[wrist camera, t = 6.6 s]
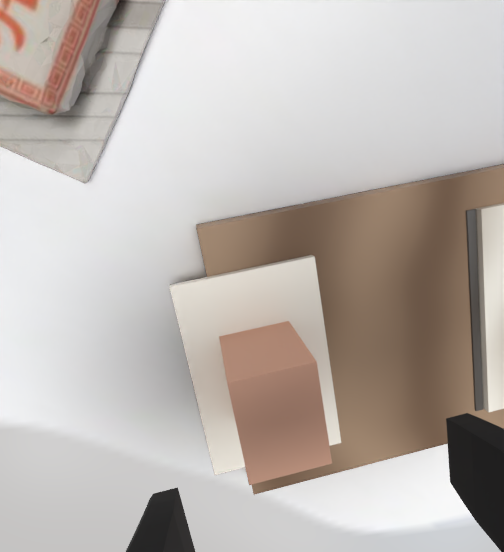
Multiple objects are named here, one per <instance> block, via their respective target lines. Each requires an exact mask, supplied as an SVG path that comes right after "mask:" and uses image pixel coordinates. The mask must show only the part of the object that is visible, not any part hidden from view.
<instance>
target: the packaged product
mask: <svg viewBox="0 0 504 552" xmlns="http://www.w3.org/2000/svg"><path fill="white" fill-rule="evenodd" d="M164 2H165V0H0V146H1V147H3V148H6V149H8V150H10V151H12V152H14V153H17V154H19V155H21V156H23V157H26V158H28V159H30V160H32V161H34V162H37V163H39V164H42V165H44V166H46V167H49V168H51V169H53V170H56V171H58V172H60V173H63V174H65V175H67V176H70V177H72V178H74V179H77V180H79V181H81V182H83V183H87V182H88V181H89V179H90V176H91V174H92V172H93V170H94V168H95V166H96V163H97V161H98V159H99V157H100V155H101V153H102V151H103V149H104V146H105V144H106V142H107V140H108V138H109V135H110V133H111V131H112V129H113V126H114V124H115V122H116V120H117V118H118V115H119V113H120V111H121V109H122V106H123V104H124V102H125V100H126V97H127V95H128V93H129V90H130V87H131V84H132V81H133V79H134V76H135V73H136V70H137V67H138V64H139V61H140V58H141V56H142V54H143V51H144V49H145V47H146V44H147V42H148V40H149V37H150V35H151V33H152V30H153V28H154V25H155V23H156V21H157V18H158V16H159V14H160V11H161V9H162V7H163V4H164Z"/></svg>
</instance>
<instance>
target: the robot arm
mask: <svg viewBox="0 0 504 552" xmlns="http://www.w3.org/2000/svg"><path fill="white" fill-rule="evenodd" d="M446 424H447V439H448V454H449V469H450V482H451V484H452V485H453V487H454V489H455V490H456V492H457V493H458V495H459V496H460V498H461V499H462V501H463V503H464V504H465V505H466V507H467V508H468V510H469V511H470V513H471V514H472V516H473V517H474V519H475V520H476V521H477V523H478V524H479V525H480V526H481V527H482V529H483V530H484V531H485V532H486V534H487V535H488V536H489V537H490V538H491V540H492V541H493V542H494V543H495V544H496V546H497V547H498V548H499V549H500V550H501V552H504V429H503V428H501V427H499V426H497V425H494V424H492V423H490V422H488V421H486V420H483V419H481V418H479V417H476V416H474V415H471V414H469V413H465V414H462V415H458V416H454V417H450V418H446ZM126 552H195V549H194V546H193V542H192V539H191V535H190V531H189V527H188V524H187V520H186V517H185V513H184V509H183V506H182V502H181V498H180V495H179V491H178V488H175V489H170V490H167V491H163V492H159V493H155V494H153V495H152V497H151V498H150V500H149V502H148V505H147V507H146V509H145V511H144V514H143V516H142V518H141V520H140V523H139V525H138V527H137V529H136V531H135V534H134V536H133V538H132V540H131V542H130V544H129V546H128V548H127V550H126Z"/></svg>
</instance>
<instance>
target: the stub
mask: <svg viewBox="0 0 504 552" xmlns="http://www.w3.org/2000/svg"><path fill="white" fill-rule="evenodd" d="M170 291H171V295H172V300H173V304H174V308H175V312H176V316H177V320H178V325H179V329H180V333H181V337H182V341H183V345H184V349H185V354H186V358H187V362H188V366H189V370H190V374H191V378H192V383H193V387H194V391H195V395H196V399H197V403H198V407H199V412H200V416H201V420H202V424H203V428H204V432H205V436H206V441H207V445H208V449H209V453H210V457H211V461H212V465H213V470H214V474H215V475H218V474H222V473H226V472H230V471H233V470H237V469H241V468H246V472H247V477H248V481H249V485H252V484H256V483H260V482H263V481H267V480H271V479H275V478H279V477H283V476H286V475H290V474H294V473H298V472H302V471H306V470H309V469H313V468H317V467H321V466H325V465H328V464H332V459H331V452H330V446H331V445H335V444H339V443H341V437H340V430H339V423H338V416H337V409H336V402H335V395H334V388H333V381H332V374H331V367H330V360H329V353H328V346H327V339H326V332H325V325H324V318H323V311H322V304H321V297H320V290H319V283H318V276H317V269H316V262H315V257H314V256H313V255H309V256H304V257H300V258H295V259H290V260H285V261H281V262H276V263H271V264H266V265H262V266H257V267H252V268H247V269H242V270H238V271H233V272H228V273H223V274H219V275H214V276H209V277H204V278H200V279H195V280H190V281H185V282H180V283H176V284H171V285H170Z"/></svg>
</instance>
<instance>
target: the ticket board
mask: <svg viewBox="0 0 504 552" xmlns="http://www.w3.org/2000/svg"><path fill="white" fill-rule="evenodd" d="M196 227H197V233H198V237H199V242H200V247H201V251H202V256H203V261H204V265H205V270H206V275H207V277H209V276H214V275H219V274H223V273H228V272H233V271H238V270H242V269H247V268H252V267H257V266H262V265H266V264H271V263H276V262H281V261H285V260H290V259H295V258H300V257H304V256H309V255H313V256H314V257H315V262H316V269H317V276H318V283H319V290H320V297H321V304H322V311H323V318H324V325H325V332H326V339H327V346H328V353H329V360H330V367H331V374H332V381H333V388H334V395H335V402H336V409H337V416H338V423H339V430H340V437H341V443H339V444H335V445H331V446H330V452H331V459H332V464H328V465H325V466H321V467H317V468H313V469H309V470H306V471H302V472H298V473H294V474H290V475H286V476H283V477H279V478H275V479H271V480H267V481H263V482H260V483H256V484H252V488H253V493H254V494H258V493H261V492H265V491H269V490H273V489H277V488H280V487H284V486H288V485H292V484H296V483H299V482H303V481H307V480H311V479H315V478H318V477H322V476H326V475H330V474H334V473H337V472H341V471H345V470H349V469H352V468H356V467H360V466H364V465H368V464H371V463H375V462H379V461H383V460H387V459H390V458H394V457H398V456H402V455H406V454H409V453H413V452H417V451H421V450H425V449H428V448H432V447H436V446H440V445H443V444H447V443H448V439H447V424H446V418H450V417H454V416H458V415H462V414H465V413H469V414H471V415H474V416H476V417H479V418H481V419H483V420H486V421H488V422H490V423H492V424H494V425H497V426H499V427H501V428H503V429H504V164H502V165H497V166H492V167H487V168H482V169H477V170H471V171H466V172H461V173H456V174H451V175H446V176H441V177H436V178H431V179H426V180H421V181H416V182H411V183H405V184H400V185H395V186H390V187H385V188H380V189H375V190H370V191H365V192H360V193H355V194H350V195H344V196H339V197H334V198H329V199H324V200H319V201H314V202H309V203H304V204H299V205H294V206H289V207H284V208H278V209H273V210H268V211H263V212H258V213H253V214H248V215H243V216H238V217H233V218H228V219H223V220H218V221H212V222H207V223H202V224H197V225H196Z"/></svg>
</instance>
